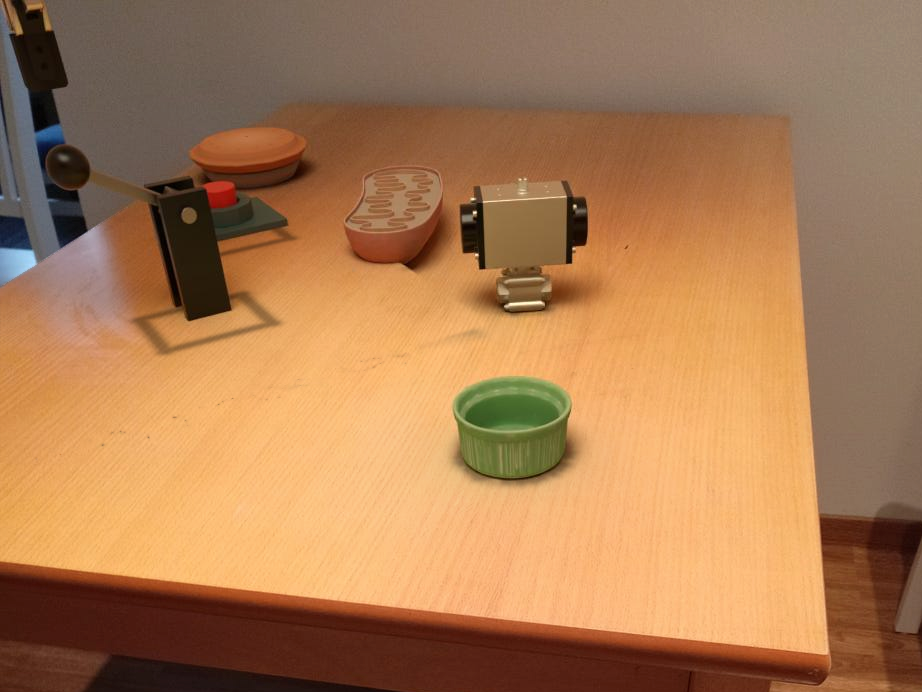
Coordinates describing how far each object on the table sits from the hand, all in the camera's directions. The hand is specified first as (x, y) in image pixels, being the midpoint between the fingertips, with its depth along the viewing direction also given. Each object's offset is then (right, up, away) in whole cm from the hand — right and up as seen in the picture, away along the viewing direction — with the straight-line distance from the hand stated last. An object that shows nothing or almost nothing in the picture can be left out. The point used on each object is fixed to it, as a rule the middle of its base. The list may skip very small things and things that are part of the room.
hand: (47, 87), depth 83 cm
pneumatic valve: (+40, -12, +18) cm, 45 cm away
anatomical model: (+27, 0, +32) cm, 42 cm away
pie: (+5, +17, +54) cm, 57 cm away
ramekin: (+38, -31, -4) cm, 49 cm away
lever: (+3, -6, +8) cm, 11 cm away
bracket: (+8, -14, +18) cm, 24 cm away
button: (+6, +5, +34) cm, 34 cm away
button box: (+6, +2, +36) cm, 36 cm away
